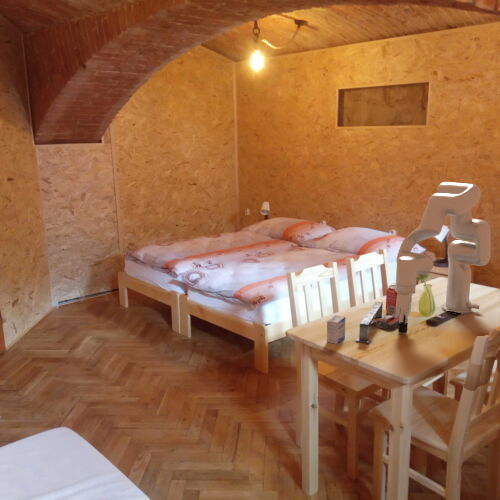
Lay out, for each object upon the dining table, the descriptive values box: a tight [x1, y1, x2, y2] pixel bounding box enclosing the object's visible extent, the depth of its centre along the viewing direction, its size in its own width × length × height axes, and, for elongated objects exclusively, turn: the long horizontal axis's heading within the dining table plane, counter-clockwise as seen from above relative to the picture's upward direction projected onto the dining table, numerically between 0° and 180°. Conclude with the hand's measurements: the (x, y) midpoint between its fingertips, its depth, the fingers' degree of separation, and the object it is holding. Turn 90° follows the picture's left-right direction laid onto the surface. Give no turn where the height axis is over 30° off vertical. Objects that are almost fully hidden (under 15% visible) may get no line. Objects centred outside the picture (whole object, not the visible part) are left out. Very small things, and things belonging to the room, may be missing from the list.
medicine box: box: [326, 314, 346, 345], centre depth 199 cm, size 8×4×9 cm, turn 148°
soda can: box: [385, 284, 397, 315], centre depth 228 cm, size 7×7×12 cm
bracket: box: [355, 301, 386, 345], centre depth 210 cm, size 5×32×7 cm, turn 155°
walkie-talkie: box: [368, 314, 399, 331], centre depth 213 cm, size 9×4×20 cm
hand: (402, 332), depth 206 cm, fingers closed
